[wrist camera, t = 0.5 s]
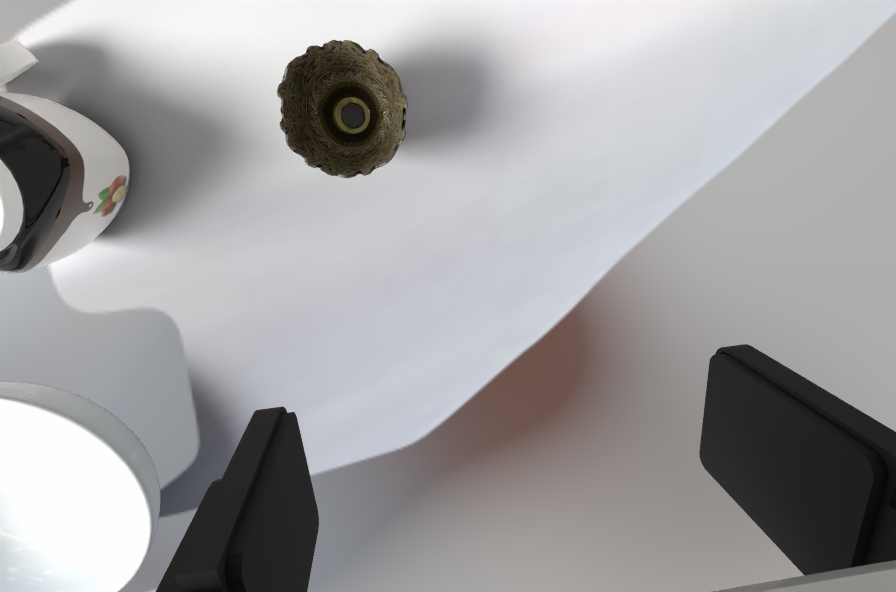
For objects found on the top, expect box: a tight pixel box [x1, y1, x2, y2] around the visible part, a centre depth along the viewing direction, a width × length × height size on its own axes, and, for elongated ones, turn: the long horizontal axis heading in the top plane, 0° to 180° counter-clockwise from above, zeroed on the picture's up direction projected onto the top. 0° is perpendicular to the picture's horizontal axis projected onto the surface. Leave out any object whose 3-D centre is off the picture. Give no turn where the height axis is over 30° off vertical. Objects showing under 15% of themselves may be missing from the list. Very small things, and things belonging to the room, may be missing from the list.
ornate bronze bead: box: [277, 40, 407, 178], centre depth 31 cm, size 8×7×8 cm
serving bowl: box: [0, 382, 161, 592], centre depth 38 cm, size 21×21×7 cm
